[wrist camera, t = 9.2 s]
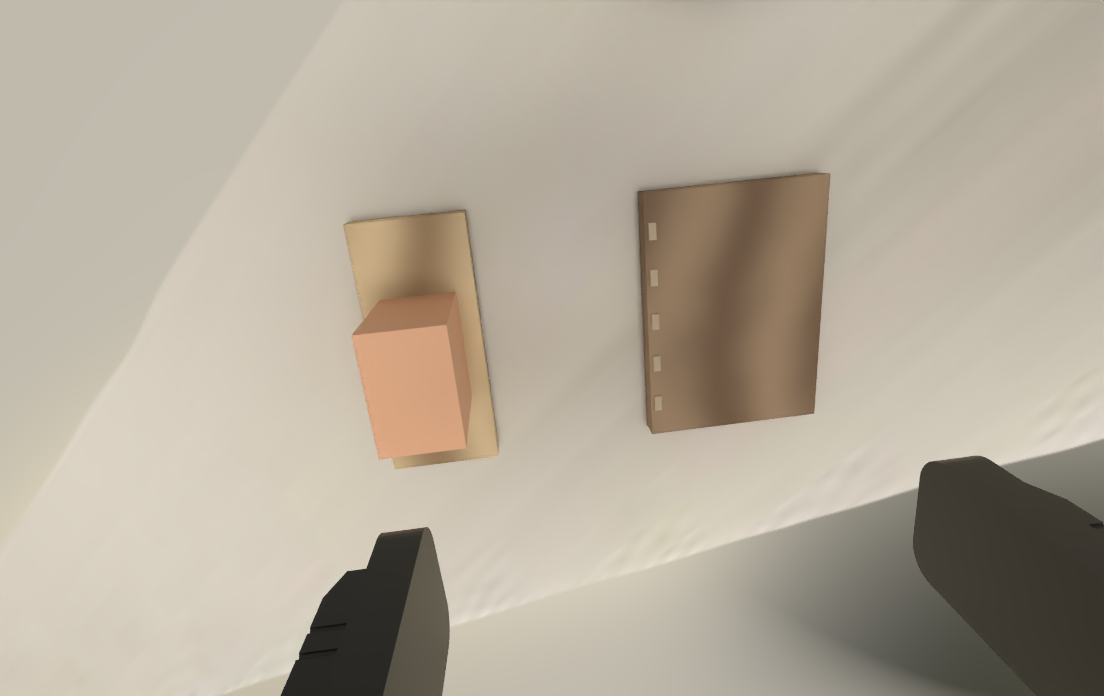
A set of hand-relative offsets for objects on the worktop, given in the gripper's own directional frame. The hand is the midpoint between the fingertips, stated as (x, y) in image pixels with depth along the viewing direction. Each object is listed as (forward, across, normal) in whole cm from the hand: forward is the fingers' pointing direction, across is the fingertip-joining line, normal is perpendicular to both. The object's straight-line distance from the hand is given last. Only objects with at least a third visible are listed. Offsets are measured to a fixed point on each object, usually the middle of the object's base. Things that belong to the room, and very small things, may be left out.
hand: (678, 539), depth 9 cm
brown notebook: (+24, -9, +4) cm, 26 cm away
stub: (+23, +8, +3) cm, 25 cm away
